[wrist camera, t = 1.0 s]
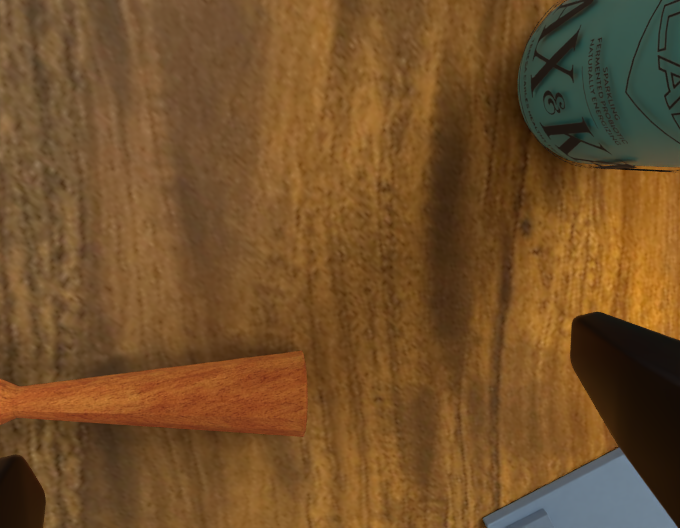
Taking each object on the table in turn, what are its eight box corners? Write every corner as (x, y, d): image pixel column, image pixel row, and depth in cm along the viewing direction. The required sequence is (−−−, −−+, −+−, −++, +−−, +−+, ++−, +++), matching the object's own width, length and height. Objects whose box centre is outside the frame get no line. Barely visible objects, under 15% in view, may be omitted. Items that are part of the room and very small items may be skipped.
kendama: (306, 508, 21) (-364, 557, 17) (290, 410, 26) (-219, 430, 22) (317, 367, 19) (-446, 385, 15) (297, 293, 24) (-263, 291, 20)
